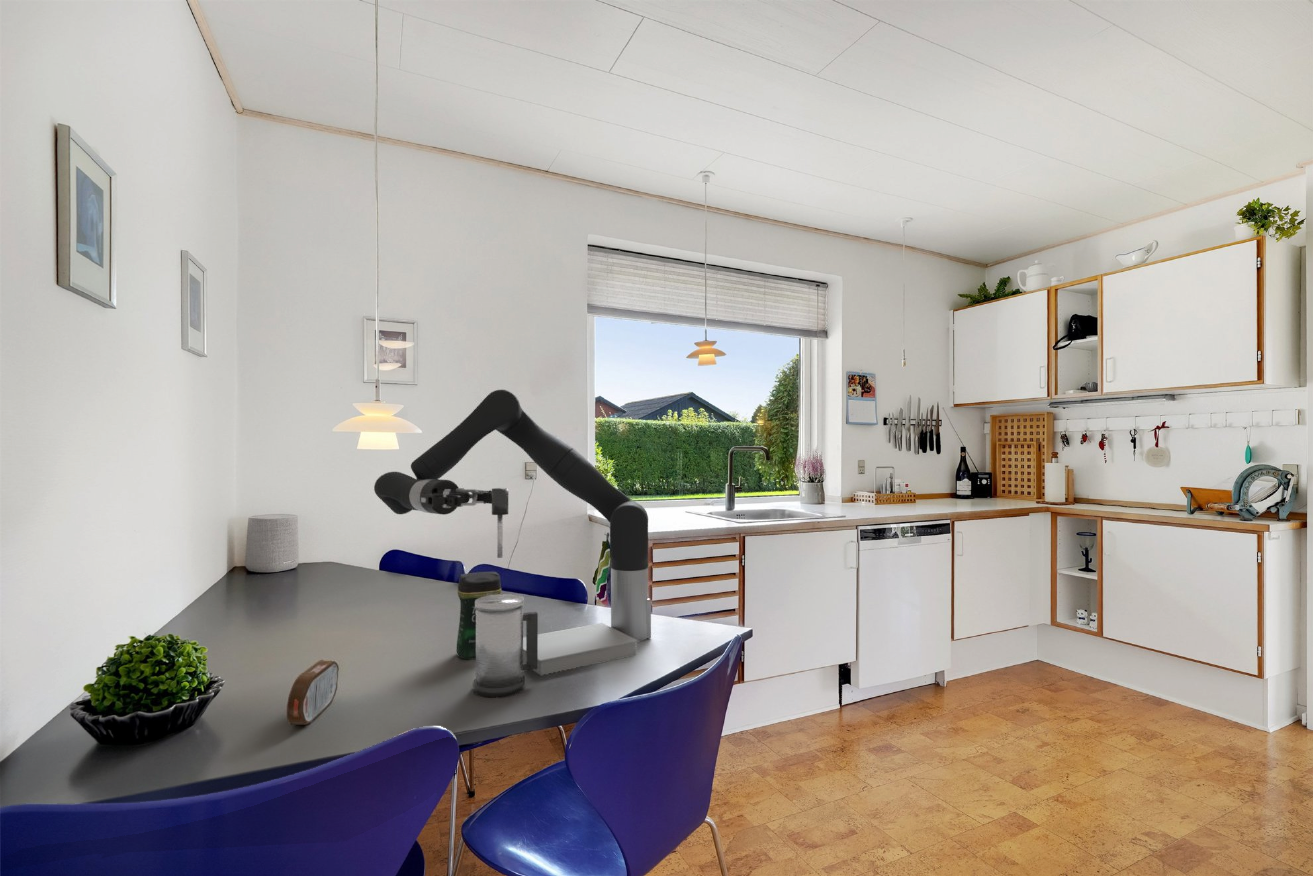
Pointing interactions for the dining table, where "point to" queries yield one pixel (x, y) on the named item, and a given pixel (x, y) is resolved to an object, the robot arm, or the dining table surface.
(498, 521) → the plunger
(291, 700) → the tin
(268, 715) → the dining table surface
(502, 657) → the carafe
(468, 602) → the coffee jar
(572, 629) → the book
